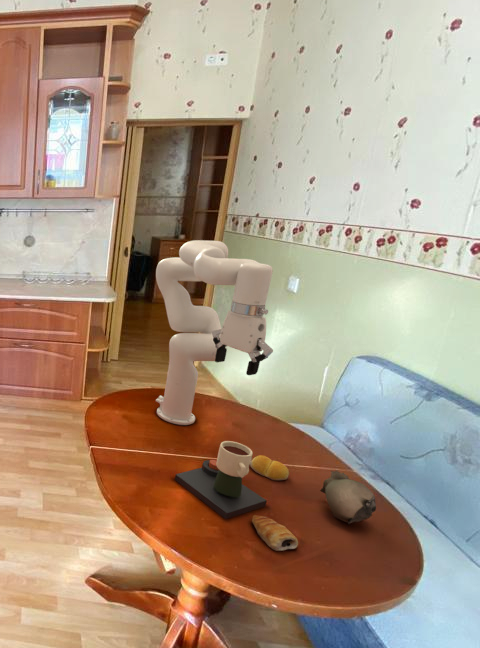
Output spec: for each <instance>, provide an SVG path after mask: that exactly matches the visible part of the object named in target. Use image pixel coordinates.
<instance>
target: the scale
mask: <svg viewBox="0 0 480 648" xmlns="http://www.w3.org/2000/svg"><path fill="white" fill-rule="evenodd" d="M210 460H211V459H207V460H203V462H202V465H201V467H199V468H194V469H191V470H187V471H183V472H179V473H175V476H174V481H175V482H177V483H178V484H179V485H180V486H182V487H183V488H184V489H185V490H187V491H188V492H190V493H191V494H192V495H193V496H195V497H196V498H197V499H199V500H200V501H201V502H202V503H204V504H205V505H207V507H210V509H212V511H214V512H216V514H218V515H220V516H221V517H222V518H223V519H225V520H228V519H231V518H234V517H237V516H240V515H244V514H247V513H249V512H253V511H256V510H258V509H261V508H265V507H266V505H267V502H268V500H267V499H266V498H264V497H262V496H261V495H259V494H258V493H257V492H255V491H254V490H252V489H250V488H249V487H248V486H246V485H245V484H243V483H242V489H241V496H239V497H231V496H227V495H224V494H221V493H219V492H218V491H216V490H215V488H214V487H213V486H214V482H215V479H216V477H217V474H218V472H219V470H214V469H211V468H210V467H209V461H210Z"/></svg>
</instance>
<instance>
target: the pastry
mask: <svg viewBox="0 0 480 648" xmlns="http://www.w3.org/2000/svg"><path fill="white" fill-rule="evenodd" d="M251 522H252V524H253V526H254V528H255V530H256V532H257V535H258V536H259V537H260V538H261V540H262V541H264V542H265V544H266V545H267V546H268V547H269V548H271V549H272V550H274V551H275V552H276V551H277V552H281V551H286V550H294V549H296V548H297V547H298V546H299V541H298V538H297V537H296V536H295V535H294V534H293V533H292V532H291V531H290V529H288V528H287V527H286V526H285V525H283V524H280V523H279V522H277V521H275V520H274V519H272V518H270V517H268V516H265V515H256V514H254V515H253V516H252V518H251Z"/></svg>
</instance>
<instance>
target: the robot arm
mask: <svg viewBox="0 0 480 648" xmlns="http://www.w3.org/2000/svg"><path fill="white" fill-rule="evenodd" d="M178 255H179V257H166V258H164V259H162V260H160V261H159V262H158V264H157V266H156V269H155V280H156V285H157V286H158V289H159V291H160V293H161V296H162V298H163V301H164V306H165V311H166V316H167V321H168V324H169V328H171V330H172V331H174V332H178V333H176V334H174V335H173V336H171V338H170V339H169V344H168V352H169V353H168V355H169V359H168V367H167V374H166V381H165V387H164V388H165V389H164V395H159V396H158V397H157V398H156V399H155V402H156V403H158V404H159V407H158V408H157V409H156V415H157V416H158V417H159V418H160V419H162V420H163V421H165V422H168V423H171V424H174V425H179V426H188V425H192V424H194V423H195V421H196V416H195V415H194V414H193V412H192V411H193V406H194V401H195V394H196V389H197V384H198V380H199V379H198V378H199V371H198V369H197V368H196V366H195V365H194V362H215V363H223V362H225V361H226V356H227V352H228V351H227V350H228V348H227V347H229V348H232V349H234V350H237V351H240V352H243V353H246V354H248V357H249V358H250V360H249V361H248V364H247V368H246V372H245V373H246V374H245V375H247V376H254V375H257V373H258V372H259V368H260V364H261V362H263V361H265V360H266V359H268V358H269V356H271V354H272V353H273V352H274V349H273V348H272V347H271V346H270V345H269V344H268V343H266V334H267V317H266V315H268V313H269V310H268V309H266V303H267V299H268V295H269V290H270V287H271V281H272V277H273V272H274V270H273V267H272V266H271V265H270V264H267V263H260V262H258V261H257V260H254V259H250V258H231V257H230V258H229V247H228V245H227V244H225V242H223V241H220V240H205V239H204V240H203V239H200V240H198V239H197V240H195V239H193V240H190V241H189V240H188V241H187V242H185V243H183V244H182V246H180V248H179V251H178ZM180 282H204V283H205V284H208V285H212V286H234V290H233V296H232V301H231V306H230V310H228V311H227V313H226V315H225V318H224V320H223V324H221V321H220V318H219V314H218V312H217V310H215V309H214V307H213V308H212V307H211V306H206V305H194V304H193V302H192V300H191V294H190V293H189V291H188V290H187V289H186V288H185V287H184V286H183V285H182V284H181V283H180ZM264 315H265V316H264ZM179 332H180V333H179ZM262 351H263V352H262ZM261 352H262V353H261Z"/></svg>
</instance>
